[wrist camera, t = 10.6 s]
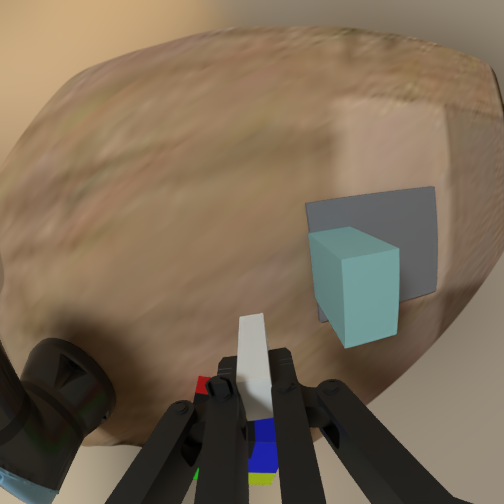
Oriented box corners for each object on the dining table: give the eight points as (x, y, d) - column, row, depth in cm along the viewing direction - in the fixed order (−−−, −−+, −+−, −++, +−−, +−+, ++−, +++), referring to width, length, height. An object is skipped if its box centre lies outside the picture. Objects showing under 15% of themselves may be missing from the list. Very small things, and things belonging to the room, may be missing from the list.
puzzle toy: (278, 383, 32) (288, 442, 23) (265, 431, 35) (270, 484, 25) (198, 375, 32) (186, 434, 22) (197, 424, 34) (188, 478, 24)
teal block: (315, 298, 29) (345, 348, 19) (307, 233, 27) (341, 259, 18) (354, 290, 29) (396, 334, 19) (349, 226, 27) (399, 248, 18)
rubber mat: (319, 319, 30) (320, 322, 30) (304, 203, 27) (306, 203, 27) (433, 289, 30) (436, 290, 29) (431, 186, 27) (434, 186, 26)
